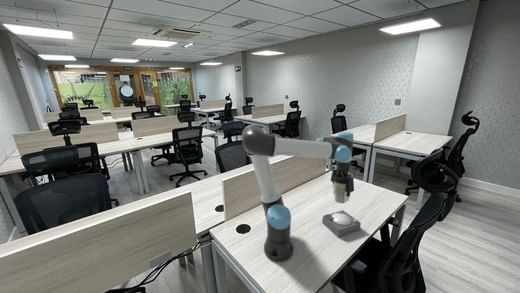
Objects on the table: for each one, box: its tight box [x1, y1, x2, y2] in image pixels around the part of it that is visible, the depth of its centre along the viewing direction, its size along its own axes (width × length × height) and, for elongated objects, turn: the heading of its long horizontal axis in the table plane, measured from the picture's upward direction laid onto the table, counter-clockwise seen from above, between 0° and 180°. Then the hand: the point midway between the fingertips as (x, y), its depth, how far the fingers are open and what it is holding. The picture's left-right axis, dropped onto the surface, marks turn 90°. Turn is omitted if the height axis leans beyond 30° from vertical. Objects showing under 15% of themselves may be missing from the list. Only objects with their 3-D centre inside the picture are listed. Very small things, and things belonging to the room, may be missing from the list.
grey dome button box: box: [321, 209, 362, 238], centre depth 122 cm, size 16×14×6 cm
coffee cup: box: [333, 175, 348, 204], centre depth 116 cm, size 9×9×15 cm
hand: (340, 197), depth 117 cm, fingers closed on coffee cup, 8 cm apart
